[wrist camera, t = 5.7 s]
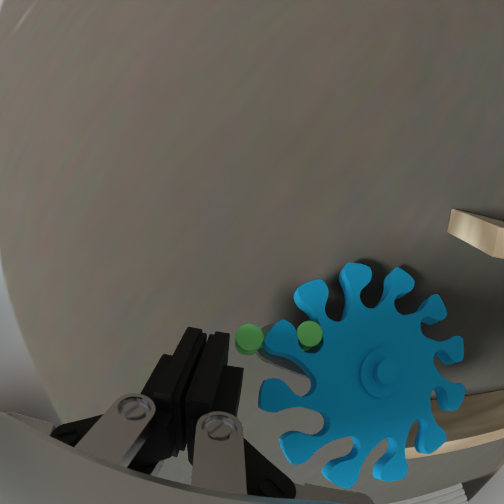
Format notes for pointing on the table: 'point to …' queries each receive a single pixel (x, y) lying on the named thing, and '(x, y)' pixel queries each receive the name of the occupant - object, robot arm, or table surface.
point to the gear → (359, 373)
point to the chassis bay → (480, 405)
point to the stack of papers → (440, 497)
